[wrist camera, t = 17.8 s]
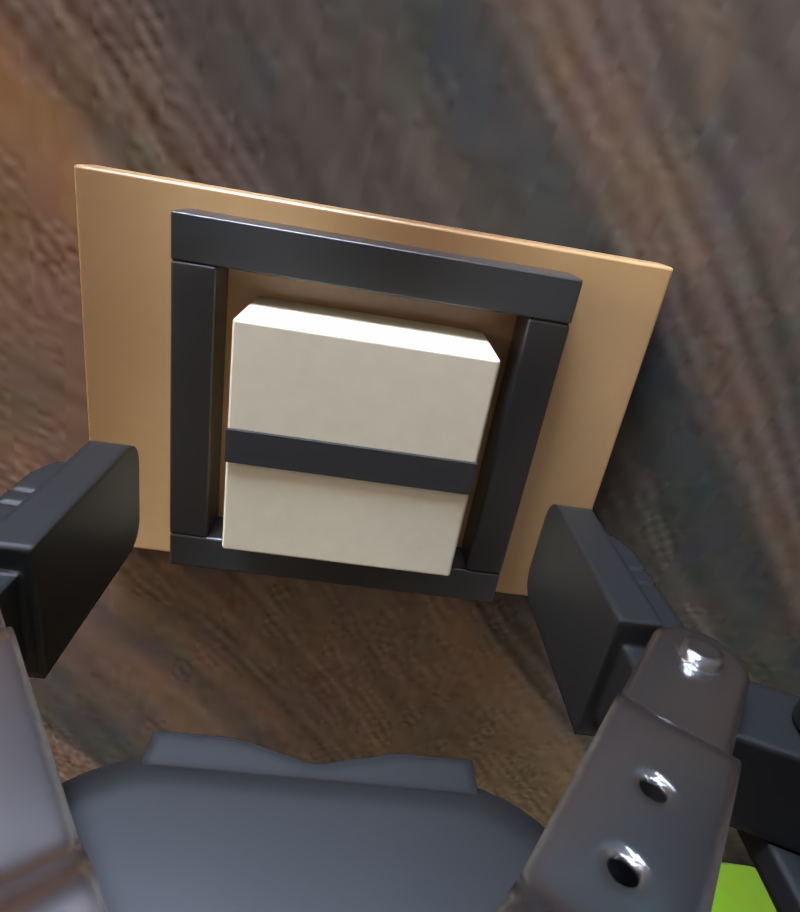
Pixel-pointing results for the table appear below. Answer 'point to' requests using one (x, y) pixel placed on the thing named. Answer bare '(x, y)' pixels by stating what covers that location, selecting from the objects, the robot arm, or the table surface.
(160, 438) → the base pad
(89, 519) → the robot arm
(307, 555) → the ivory pad
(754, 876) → the apple
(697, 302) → the table surface
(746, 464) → the table surface
